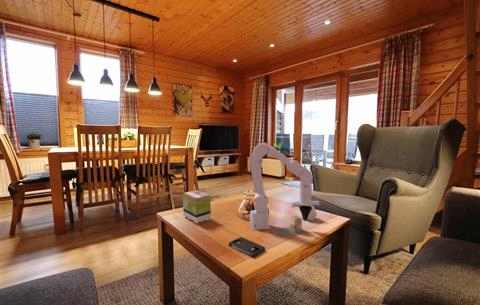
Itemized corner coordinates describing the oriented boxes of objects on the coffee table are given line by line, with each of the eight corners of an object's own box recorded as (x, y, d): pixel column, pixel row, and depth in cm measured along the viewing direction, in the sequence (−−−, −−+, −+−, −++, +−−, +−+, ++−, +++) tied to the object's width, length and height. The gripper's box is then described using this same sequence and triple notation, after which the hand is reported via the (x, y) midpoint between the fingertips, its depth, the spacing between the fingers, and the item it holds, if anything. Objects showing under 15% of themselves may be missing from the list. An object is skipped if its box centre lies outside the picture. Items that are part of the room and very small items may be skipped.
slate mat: (280, 237, 109) (280, 236, 109) (273, 229, 118) (273, 228, 117) (307, 234, 112) (307, 233, 112) (299, 226, 120) (299, 226, 120)
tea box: (182, 216, 136) (182, 192, 135) (197, 212, 143) (196, 189, 142) (196, 224, 125) (195, 197, 124) (211, 219, 132) (211, 194, 130)
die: (309, 225, 124) (320, 211, 124) (296, 214, 129) (306, 200, 128) (311, 225, 132) (321, 211, 131) (298, 215, 136) (308, 202, 136)
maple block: (293, 232, 113) (294, 218, 112) (290, 229, 117) (290, 215, 116) (301, 231, 114) (302, 218, 113) (298, 228, 118) (298, 215, 117)
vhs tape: (228, 247, 101) (228, 242, 101) (240, 240, 107) (240, 236, 106) (252, 259, 91) (252, 254, 91) (265, 251, 97) (265, 247, 97)
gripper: (295, 196, 109) (295, 224, 110) (323, 194, 112) (322, 221, 113) (289, 192, 116) (288, 219, 117) (315, 191, 119) (314, 216, 120)
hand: (304, 220), depth 116 cm, fingers closed
